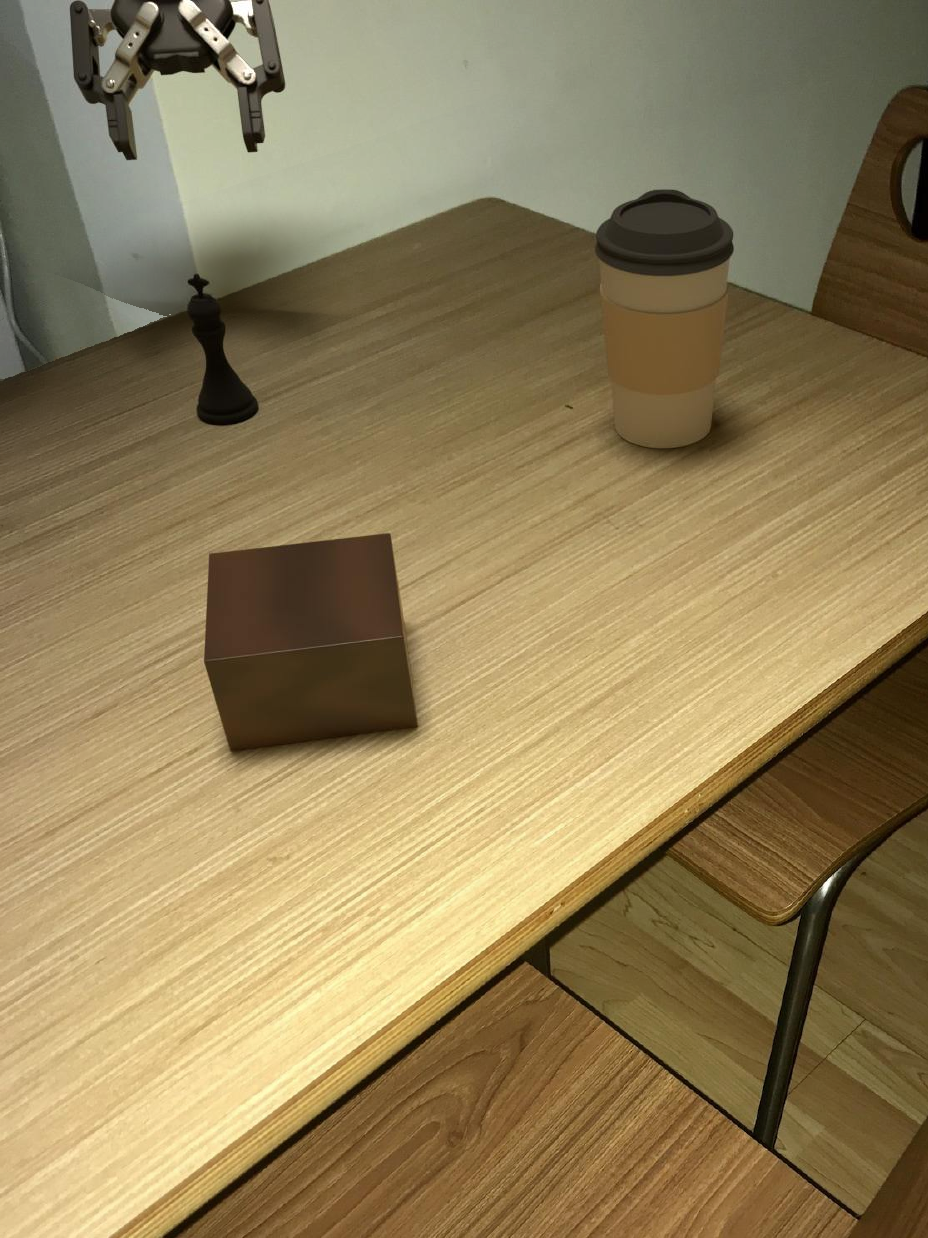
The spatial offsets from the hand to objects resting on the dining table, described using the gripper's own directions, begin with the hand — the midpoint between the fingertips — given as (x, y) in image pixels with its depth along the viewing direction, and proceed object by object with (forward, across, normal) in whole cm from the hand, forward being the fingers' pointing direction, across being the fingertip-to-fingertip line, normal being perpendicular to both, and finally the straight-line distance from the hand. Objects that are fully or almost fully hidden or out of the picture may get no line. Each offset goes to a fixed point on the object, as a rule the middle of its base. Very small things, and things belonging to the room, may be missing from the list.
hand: (190, 150), depth 95 cm
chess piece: (+18, 0, +3) cm, 18 cm away
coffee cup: (+24, +31, -2) cm, 39 cm away
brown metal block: (+42, +7, -21) cm, 47 cm away
